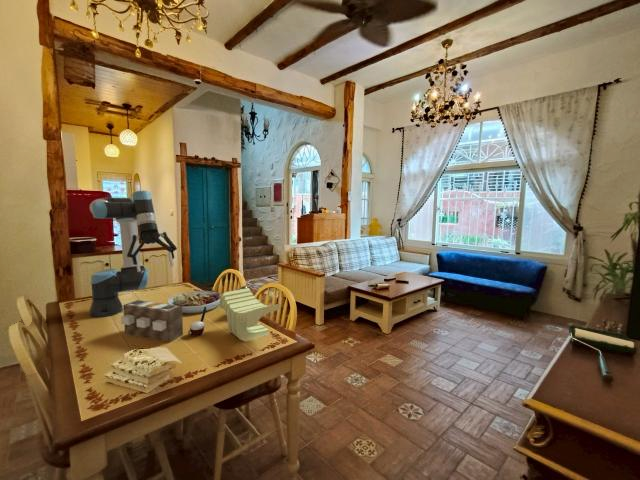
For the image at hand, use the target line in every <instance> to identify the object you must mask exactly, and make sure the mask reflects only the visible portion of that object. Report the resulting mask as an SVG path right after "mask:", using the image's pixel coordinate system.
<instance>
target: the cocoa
mask: <svg viewBox="0 0 640 480" xmlns="http://www.w3.org/2000/svg"><path fill="white" fill-rule="evenodd" d="M206 312H207V311H206V307H204V310H203V312H202V314H201V317H200V320H199V321H195V322H192V323H191V324H189V330H188V332H187V334H188V335H190V336H194V337H199V336H201V335H202V334H204V331H205V322H204V318H205V315H206Z"/></svg>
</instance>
